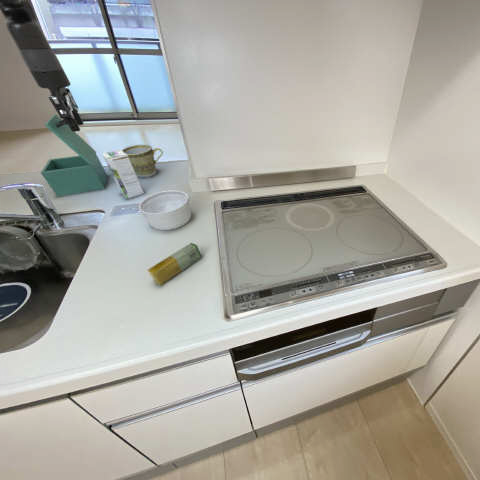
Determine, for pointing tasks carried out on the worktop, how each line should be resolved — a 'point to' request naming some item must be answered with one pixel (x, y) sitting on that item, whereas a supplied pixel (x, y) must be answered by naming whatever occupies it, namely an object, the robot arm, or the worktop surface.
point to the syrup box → (123, 173)
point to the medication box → (175, 263)
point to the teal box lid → (71, 138)
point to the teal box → (74, 175)
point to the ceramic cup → (142, 159)
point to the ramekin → (166, 209)
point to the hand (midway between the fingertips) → (78, 127)
